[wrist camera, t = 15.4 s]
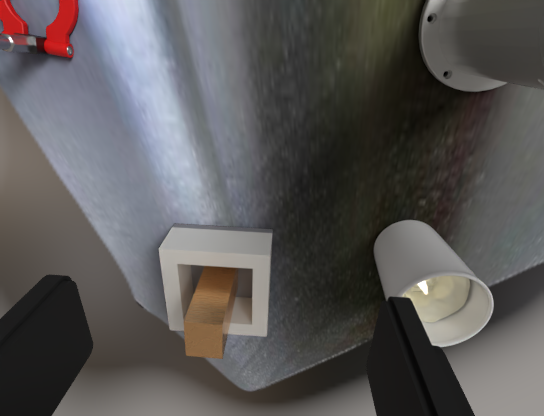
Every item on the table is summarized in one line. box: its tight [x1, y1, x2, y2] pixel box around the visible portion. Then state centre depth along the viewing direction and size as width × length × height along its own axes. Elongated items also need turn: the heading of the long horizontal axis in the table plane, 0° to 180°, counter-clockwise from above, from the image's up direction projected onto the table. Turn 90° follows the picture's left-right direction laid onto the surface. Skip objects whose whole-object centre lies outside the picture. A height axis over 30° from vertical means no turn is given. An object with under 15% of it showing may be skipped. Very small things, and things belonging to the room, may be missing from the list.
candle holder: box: [374, 220, 494, 347], centre depth 39 cm, size 10×10×12 cm
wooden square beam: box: [184, 266, 238, 359], centre depth 41 cm, size 4×5×12 cm
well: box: [159, 223, 273, 337], centre depth 44 cm, size 13×13×6 cm
